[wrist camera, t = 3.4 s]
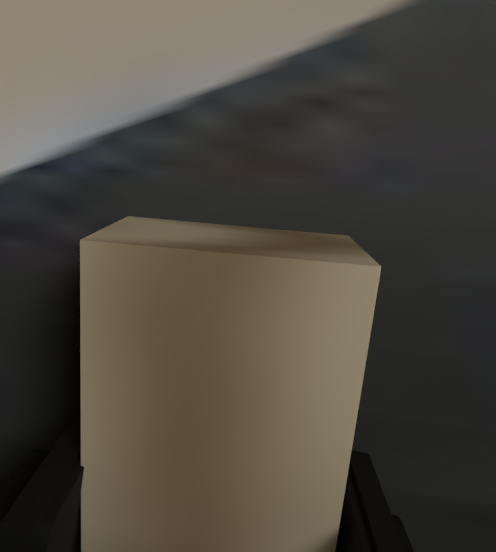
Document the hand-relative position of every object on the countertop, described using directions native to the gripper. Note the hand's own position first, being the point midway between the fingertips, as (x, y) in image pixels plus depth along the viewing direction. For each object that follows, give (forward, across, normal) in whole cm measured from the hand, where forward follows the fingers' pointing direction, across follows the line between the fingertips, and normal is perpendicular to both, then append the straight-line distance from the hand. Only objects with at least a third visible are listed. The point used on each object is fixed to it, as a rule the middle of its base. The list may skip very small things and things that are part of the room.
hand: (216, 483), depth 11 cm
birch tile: (+1, 0, 0) cm, 1 cm away
